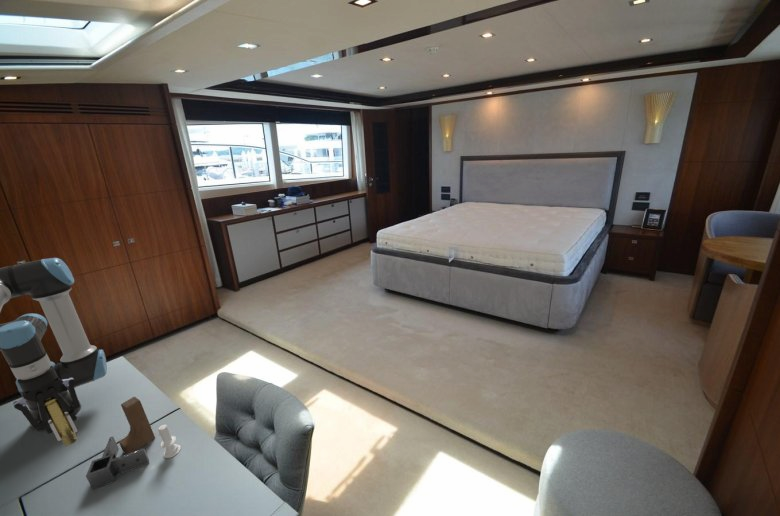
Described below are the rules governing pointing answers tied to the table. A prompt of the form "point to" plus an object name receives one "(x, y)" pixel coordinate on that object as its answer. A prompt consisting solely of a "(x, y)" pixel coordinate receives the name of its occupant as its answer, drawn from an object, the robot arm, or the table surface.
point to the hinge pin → (60, 421)
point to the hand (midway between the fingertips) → (67, 434)
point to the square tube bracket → (113, 464)
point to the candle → (168, 442)
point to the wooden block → (136, 426)
